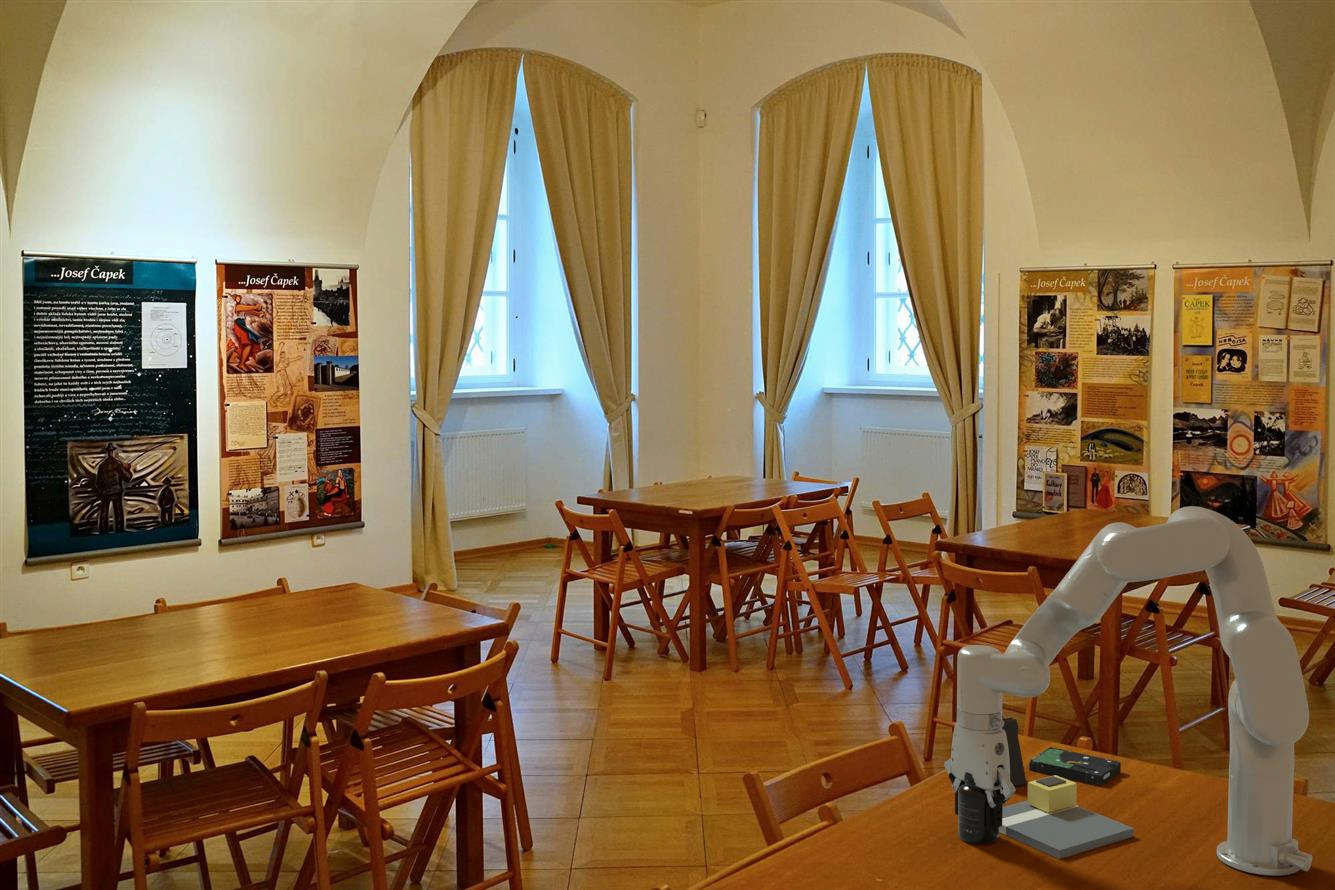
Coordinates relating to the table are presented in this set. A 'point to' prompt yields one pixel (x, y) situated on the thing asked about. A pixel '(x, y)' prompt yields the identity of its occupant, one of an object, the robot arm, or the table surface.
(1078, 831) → the board
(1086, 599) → the robot arm
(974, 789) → the supplement bottle
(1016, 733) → the phone stand
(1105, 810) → the table surface
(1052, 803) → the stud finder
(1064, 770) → the disk drive
